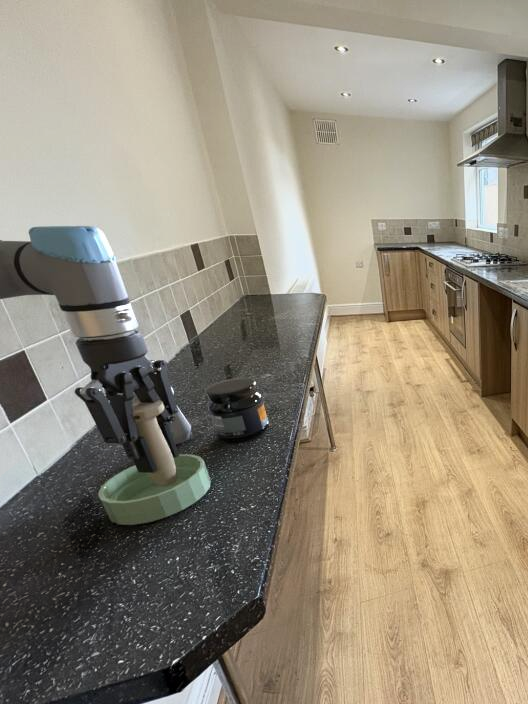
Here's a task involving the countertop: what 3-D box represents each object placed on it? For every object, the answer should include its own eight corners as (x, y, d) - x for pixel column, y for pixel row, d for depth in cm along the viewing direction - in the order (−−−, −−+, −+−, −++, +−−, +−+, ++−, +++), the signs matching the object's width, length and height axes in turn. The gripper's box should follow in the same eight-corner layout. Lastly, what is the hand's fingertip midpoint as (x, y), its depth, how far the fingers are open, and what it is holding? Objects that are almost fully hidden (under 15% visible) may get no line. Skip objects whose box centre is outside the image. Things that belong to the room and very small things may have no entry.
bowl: (86, 526, 67) (73, 501, 65) (159, 475, 80) (150, 453, 78) (168, 529, 66) (158, 504, 64) (229, 477, 79) (222, 455, 77)
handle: (145, 482, 73) (114, 406, 67) (190, 470, 76) (163, 397, 71) (142, 496, 69) (108, 418, 64) (188, 483, 73) (160, 407, 67)
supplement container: (274, 419, 101) (262, 374, 97) (265, 440, 92) (251, 391, 87) (225, 426, 98) (210, 379, 94) (210, 448, 89) (194, 398, 84)
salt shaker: (191, 431, 96) (173, 380, 91) (196, 440, 92) (178, 387, 87) (160, 440, 92) (139, 387, 87) (163, 450, 88) (142, 395, 83)
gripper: (73, 352, 54) (136, 495, 63) (176, 320, 70) (215, 439, 79) (20, 351, 55) (90, 493, 64) (135, 320, 70) (178, 438, 79)
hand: (159, 463), depth 71 cm, fingers closed on handle, 4 cm apart
